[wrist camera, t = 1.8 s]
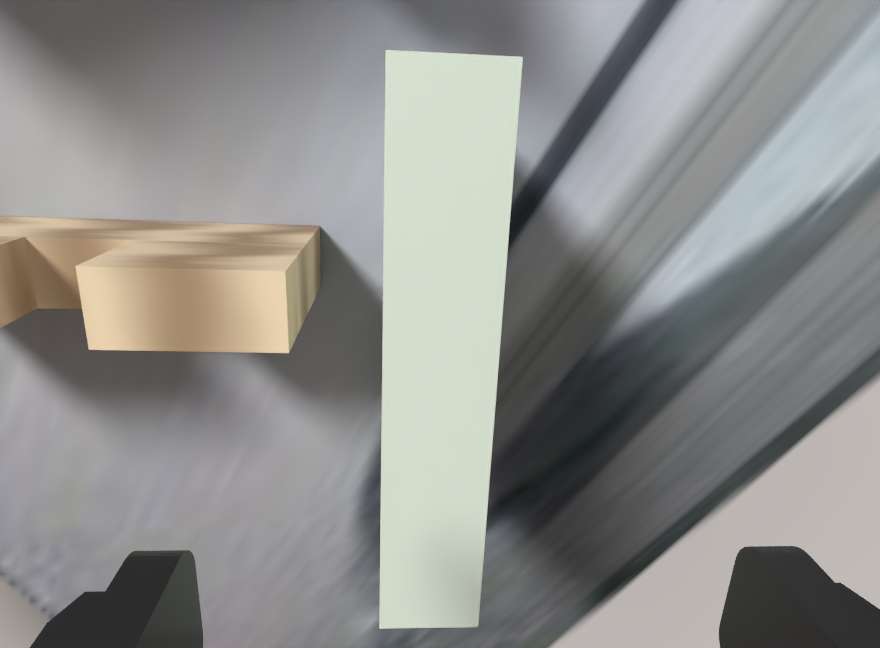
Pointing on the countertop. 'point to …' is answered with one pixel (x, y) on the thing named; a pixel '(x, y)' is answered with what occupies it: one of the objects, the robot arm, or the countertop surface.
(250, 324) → the oak u-shaped block
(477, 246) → the sage board
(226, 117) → the countertop surface
